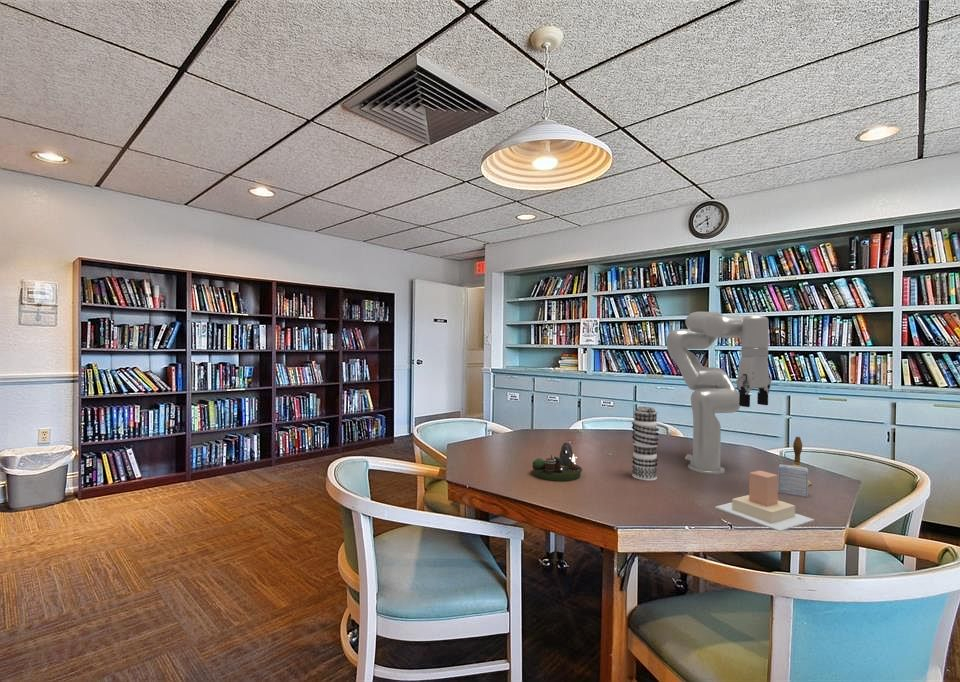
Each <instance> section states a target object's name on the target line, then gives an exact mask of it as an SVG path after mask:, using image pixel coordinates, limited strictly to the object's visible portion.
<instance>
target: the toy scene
mask: <svg viewBox="0 0 960 682" xmlns="http://www.w3.org/2000/svg"><path fill="white" fill-rule="evenodd" d="M552 455H553V454H552V453H550V458H549V457H548V458H545V459H543V458H540V457H537V458H536V459H535V460H533V461H532V466H531V467H532V469H533V473H534V475H535V476H536V477H537V478H539V479H543V480H547V481H553V482H554V481H555V482H570V481H575V480H577V479H579V478H580V477H581V473H582V472H583V468H582V467H581V466H580V465H578V464H577V463H576V459H578V457H577V456H575V454H574V453H573V449H572V446H571V444H570V443H569V442H564V443H563V444H562V446H561V448H560V451H559V457H557V456H552Z"/></svg>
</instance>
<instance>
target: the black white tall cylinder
mask: <svg viewBox="0 0 960 682" xmlns="http://www.w3.org/2000/svg"><path fill="white" fill-rule="evenodd" d="M633 412H634V414H633V415H634V417H633V418H634V419H633V421H632V422H631V424H632V426H631V429H632V432H631V434H632V435H631V438H632V439H633V440H632V445H633V452H632V455H633V456H632V459H633V460H632V461H631V462H632V464H633V465H631V468H632V470H631V472H632V474H631V475H632V477H633V478H634V479H638V480H640V481H656V480H657V479H658V474H659V473H658V472H657V471H658V470H659V469H658V467H657V466H658V465H659V464H658V463H657V462H658V458H657V457H658V456H657V447H658V445H659V443H658V441H659V438H658V437H657V436H659V435H660V433H659V431H660V429H659V428H658V427H657V425H658V420H657V414H658V412H657V411H656V410H655V408H654V407H651V406H638V407H637V408H636V409H635V410H634V411H633Z"/></svg>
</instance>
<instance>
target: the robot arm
mask: <svg viewBox="0 0 960 682" xmlns="http://www.w3.org/2000/svg"><path fill="white" fill-rule="evenodd" d="M684 324H685V326H686V328H682V329H681V328H680V329H679V328H678V329H674V330H671V331H670V332H669V333H668V334H667V336H666V349H667V353H668V354H669V356H670V357H671V359H672V360H673V362H674V363H675V364H676V366H677V368H678V370H679V372H680V374H681V376H682V379H683V380H684V383H685V384H686V386H687V387H688V389H689V390H691V391H693V392H692V394H691V396H690V404H691V409H692V425H693V426H692V427H693V428H692V454H690V453H687V454H686V456H685V457H684V459H685V460H687V461H690V463H689V464H688V465H687V467H688V469H689V470H691V471H693V472H697V473H701V474H707V475H722V474H725V472H726V470H725V468H724V467H723V466H721V444H722V443H721V441H722V440H721V435H722V434H721V432H722V431H721V429H722V427H721V423H720V421H719V419H718V418H717V416H716V414H733V413H736V412H738V410H740V408H741V407H744V408H750V407H751V394H750V392H751V390H752V389H757V391H758V392H757V397H756V398H757V405H761V406H768V405H769V393H770V388H771V384H772V379H771V377H770V373H769V371H770V370H769V369H770V368H769V360H768V359H769V324H770V322H769V318H768V317H767V316H764V315H747V316H739V315H738V316H737V315H736V316H735V315H732V316H731V315H724V314H722V313H721V312H717V311H695V312H694V311H693V312H691V313H690V314H688V315H687V316H686V318H685V323H684ZM720 338H721V339H741V350H740V351H741V355H740V356H741V357H740V359H739V363H738V369H737V380H735V385H736V387H735V386H734V384H733V382H732V379H730V377H729V375H728V373H727V372H726V371H725V370H723V369H722V368H720V367H715V366H714V367H711V366H710V367H707V366H703V365H702V363H701V362H700V360H699V357H697V356H696V354H694V353H693V352H691V351H690V350H706V349H708V348H710V347H711V346H712V345H713V344H714V342H716V341H717V339H720ZM737 390H738V391H737Z"/></svg>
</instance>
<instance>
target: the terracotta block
mask: <svg viewBox="0 0 960 682" xmlns="http://www.w3.org/2000/svg"><path fill="white" fill-rule="evenodd" d="M748 477H749V482H748V485H749V487H748V493H749V494H748V495H749V501H752V502H755V503H758V504H761V505H764V506H767V507H768V506H771V505H775V504H778V500H779V493H778V474H775V473H771V472H767V471H764V470H756V471H752V472H751V471H750V472H749V476H748Z"/></svg>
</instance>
